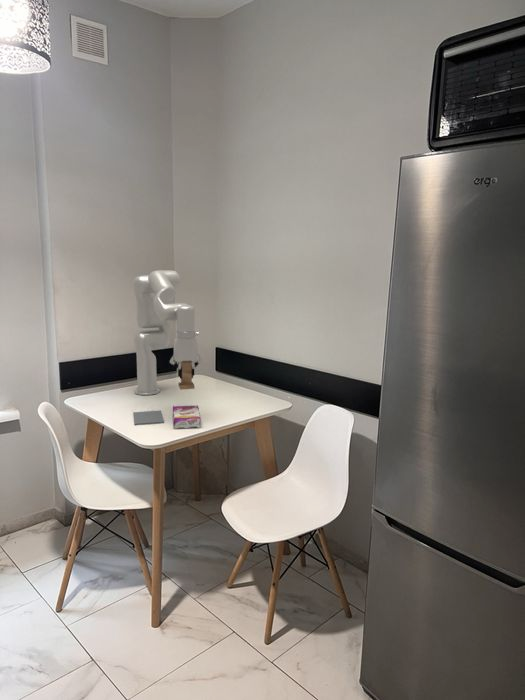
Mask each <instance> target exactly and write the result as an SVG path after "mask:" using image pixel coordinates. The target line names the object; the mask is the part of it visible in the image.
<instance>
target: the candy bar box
mask: <svg viewBox="0 0 525 700" xmlns="http://www.w3.org/2000/svg"><path fill="white" fill-rule="evenodd" d="M199 407H200V406H199V405H173V406H172V423H173V425H172V427H173V429H198V428H201V426H202V425H201V424H202V423H201V421H202V419H201V417H202V416H201V412H200V408H199Z"/></svg>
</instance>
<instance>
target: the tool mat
mask: <svg viewBox="0 0 525 700" xmlns="http://www.w3.org/2000/svg"><path fill="white" fill-rule="evenodd" d="M133 422H134V426H140V425H141V426H143V425H156V424H165V420H164V417H163V414H162V410H146V411H145V410H144V411H133Z"/></svg>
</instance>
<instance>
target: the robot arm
mask: <svg viewBox="0 0 525 700" xmlns="http://www.w3.org/2000/svg"><path fill="white" fill-rule="evenodd" d="M132 282H133V283H132V287H133V293H134V295H135V299H136V322H137V326H138V327H139V328H141V329H149V330H141V331H138V332H136V333H135V335H134V336H133V342H134V348H135V352H136V377H137V378H136V379H137V388H136V389H134V394H136V395H138V396H153V394H154V395H157V394H159V393H161V389H160V388H159V387H158V384H157V383H158V382H157V378H158V377H157V358H156V355H155V354H154V353H153V351H152V350H156V349H165V348H168V346H169V344H170V342H171V341H170V340H171V339H170V335H171V334H170V332H171V329H170V328H171V327H170V324H171V322H176V337H175V338H174V340H173V341H174V342H173V354H172V356H171V358H170V360H169V364H171V365H173V366H174V367H176V368H177V376H178V377H179V379H180V380H181V379H182V369H181V365H182V361H192V379H194V377H195V369H196V368H197V366H198V365H199V364H201V363H202V362H203V358H202V357H201V356H200V355H199V347H198V340H197V337H196V336H199V331H198V332H197V331H196V325H195V324H196V323H195V321H196V319H195V318H196V317H195V315H196V313H195V307H194V306H193V305H189V304H188V303H182V302H181V303H180V302H179V303H168V302H171V301H172V300H173V299H174V298H175V296H176V292H177V291H176V289H178V288H179V287H180V285H181V276H180V274H179V273H178V272H177V271H175V270H170V269H169V270H168V269H166V270H163V269H162V270H161V269H158V270H153V271H151V272H150V273H149V274H148V275H147V274H145V275H138V276H136V277H135V278H134V279H133V281H132ZM152 294H155V296H154V297H153V295H152ZM154 328H156V329H154ZM157 328H158V329H157ZM151 329H153V330H151Z"/></svg>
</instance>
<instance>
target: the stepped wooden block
mask: <svg viewBox="0 0 525 700" xmlns="http://www.w3.org/2000/svg"><path fill="white" fill-rule="evenodd" d="M181 369H182V379H180V382H178V389H179V390H180V391H181V390H194V389H195V383H194V382H193V381H192V380H193V378H192V361H182V365H181Z"/></svg>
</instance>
